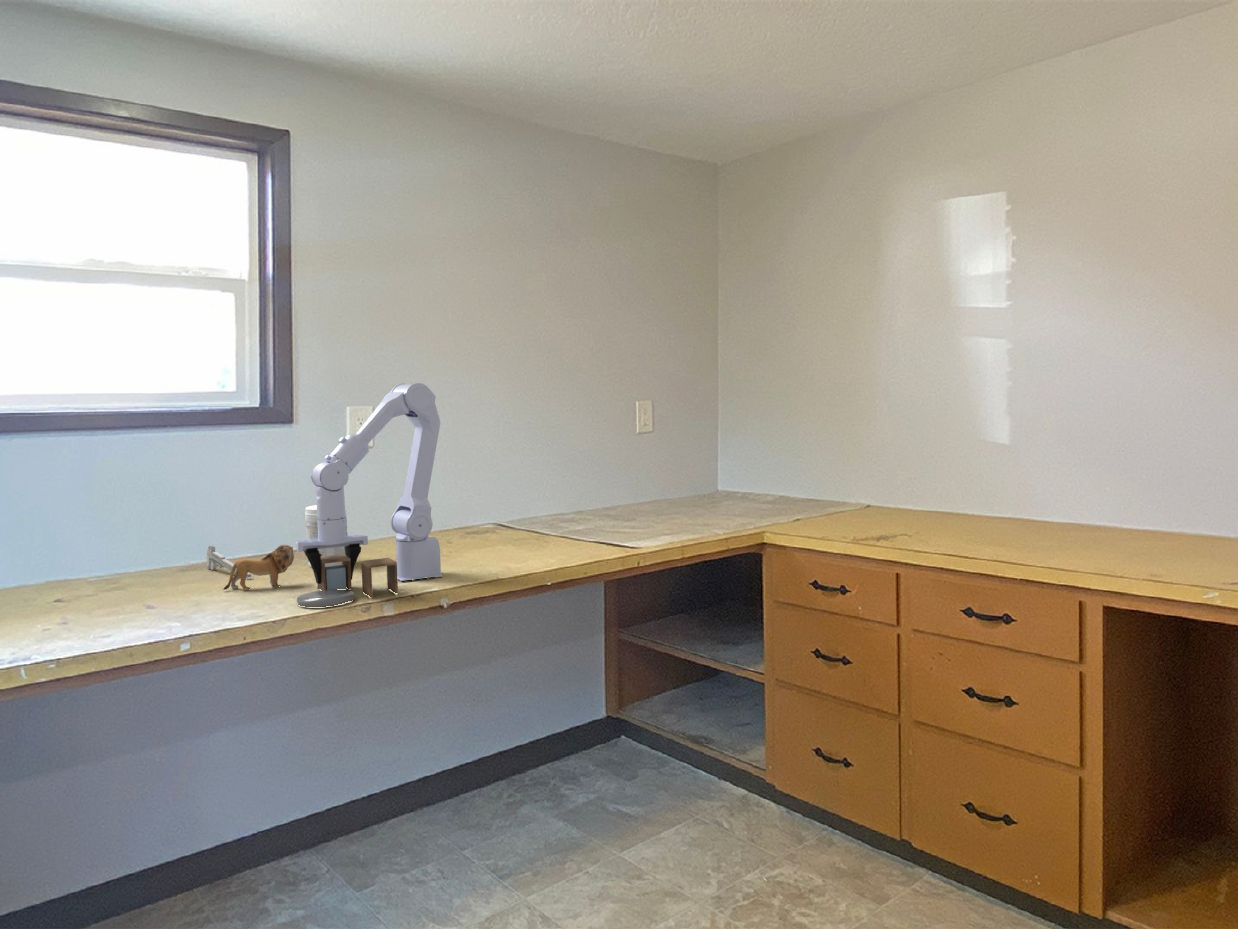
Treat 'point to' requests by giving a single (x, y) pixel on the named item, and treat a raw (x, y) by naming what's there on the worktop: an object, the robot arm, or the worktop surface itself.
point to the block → (335, 577)
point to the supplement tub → (313, 534)
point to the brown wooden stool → (367, 574)
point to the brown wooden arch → (332, 559)
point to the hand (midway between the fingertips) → (334, 581)
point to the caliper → (219, 561)
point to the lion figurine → (262, 567)
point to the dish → (325, 598)
